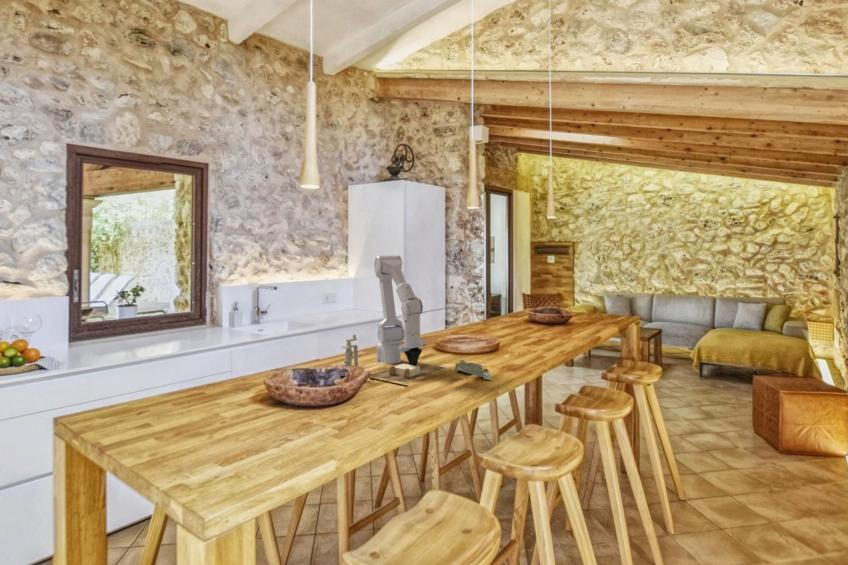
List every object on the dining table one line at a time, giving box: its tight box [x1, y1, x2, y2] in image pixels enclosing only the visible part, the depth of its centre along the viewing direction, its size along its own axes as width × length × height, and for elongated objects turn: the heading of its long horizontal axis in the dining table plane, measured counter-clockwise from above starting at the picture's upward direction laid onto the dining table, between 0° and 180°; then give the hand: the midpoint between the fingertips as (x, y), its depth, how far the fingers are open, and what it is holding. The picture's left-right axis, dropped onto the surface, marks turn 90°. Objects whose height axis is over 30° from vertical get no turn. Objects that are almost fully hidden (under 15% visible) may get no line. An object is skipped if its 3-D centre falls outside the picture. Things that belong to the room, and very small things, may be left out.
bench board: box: [368, 362, 446, 388], centre depth 180 cm, size 17×24×4 cm
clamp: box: [341, 334, 359, 367], centre depth 179 cm, size 4×10×15 cm, turn 160°
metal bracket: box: [454, 359, 493, 382], centre depth 179 cm, size 14×6×15 cm
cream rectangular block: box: [394, 363, 420, 377], centre depth 177 cm, size 8×6×2 cm
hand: (413, 368), depth 179 cm, fingers closed
